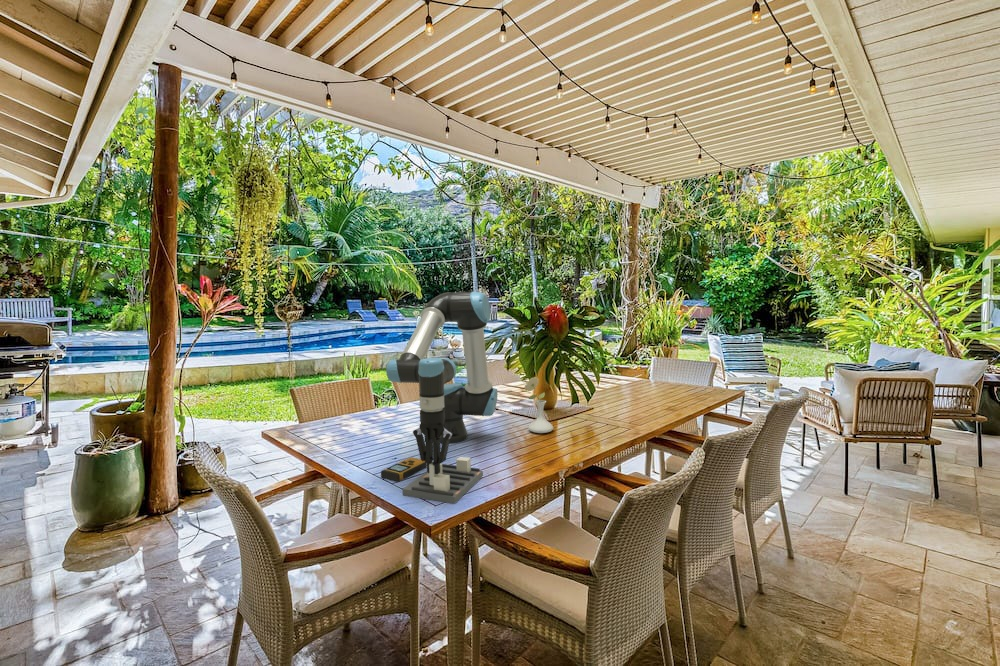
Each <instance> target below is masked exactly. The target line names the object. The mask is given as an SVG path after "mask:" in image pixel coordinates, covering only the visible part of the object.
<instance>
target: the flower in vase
mask: <svg viewBox="0 0 1000 666" xmlns="http://www.w3.org/2000/svg"><path fill="white" fill-rule="evenodd" d="M539 381H540V379H539V377H536V376H534V377H531V378H530V379H528V381H526V384H525V385H524V391H526V392H531V391H533V390H534V393H535V394H532V395H530V396H529V398H528V400H534V402H535V404H536V405H537V418H535V419H534V420H533V421H532V422H531V423H530V424H529V425H528V427H527V429H528V430H529V431H531V432H533V433H536V434H537V433H538V434H546V433H549V432H552V431H553V430H554V426H553V424H552V423H550V421H548V420H547V419H546V418H545V416H544V407H545V405H546V403H547V400H544V399H543V398H544V397H545V395H546V393H545V391H544V392H542V393H540V394H539V395H538V394H537V391H536V387H537V386H538V385H539ZM536 398H537V400H535V399H536Z"/></svg>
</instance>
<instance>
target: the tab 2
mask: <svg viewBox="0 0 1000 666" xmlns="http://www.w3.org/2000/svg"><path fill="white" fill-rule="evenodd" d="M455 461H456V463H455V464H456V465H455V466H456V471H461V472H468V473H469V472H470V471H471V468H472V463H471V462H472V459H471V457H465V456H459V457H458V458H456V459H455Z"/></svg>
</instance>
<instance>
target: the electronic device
mask: <svg viewBox="0 0 1000 666" xmlns="http://www.w3.org/2000/svg"><path fill="white" fill-rule="evenodd" d="M424 469H427V463H426V462H425V461H422V460H421V458H415V457H408V458H406V459H404V460H401V461H400V462H397V463H396V464H393V465H391V466H389V467H386V468H385V469H383V470H381V471H380V477H381V479H384V480H388V481H390V482H391V481H392V482H396V483H398V482H401V481H402V480H404V479H406V478H409V477H411V476H412V475H414V474H417V473H418V472H421V471H423V470H424Z"/></svg>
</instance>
